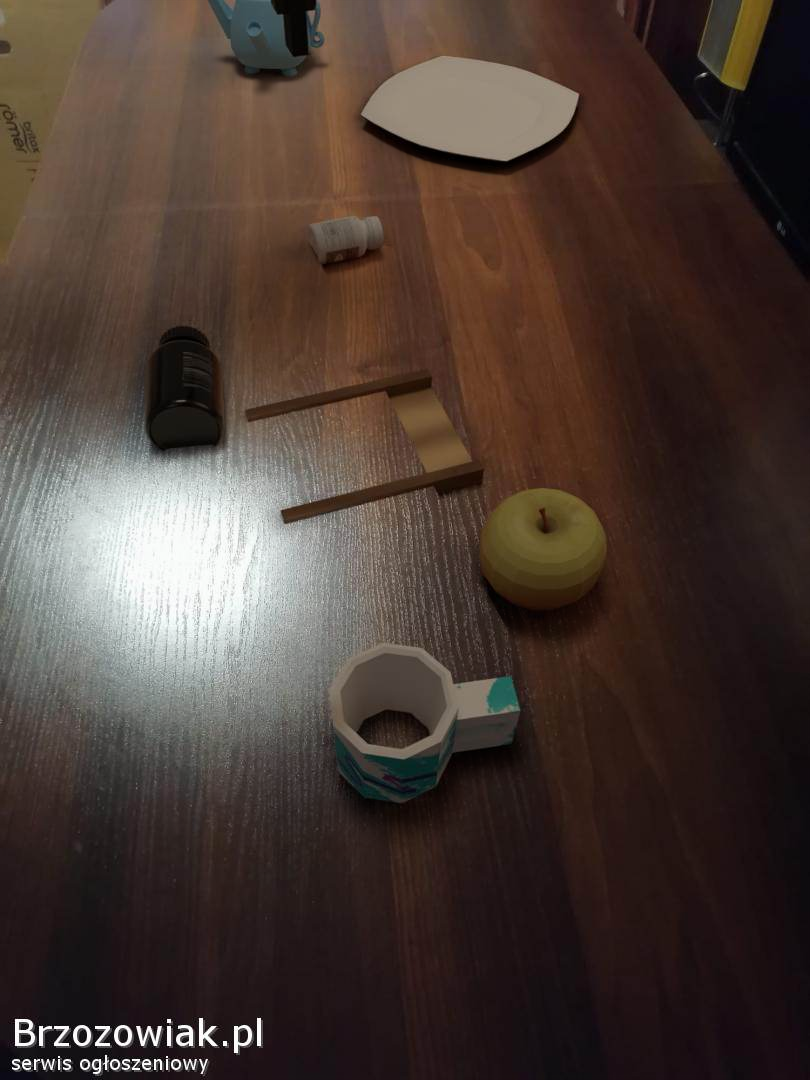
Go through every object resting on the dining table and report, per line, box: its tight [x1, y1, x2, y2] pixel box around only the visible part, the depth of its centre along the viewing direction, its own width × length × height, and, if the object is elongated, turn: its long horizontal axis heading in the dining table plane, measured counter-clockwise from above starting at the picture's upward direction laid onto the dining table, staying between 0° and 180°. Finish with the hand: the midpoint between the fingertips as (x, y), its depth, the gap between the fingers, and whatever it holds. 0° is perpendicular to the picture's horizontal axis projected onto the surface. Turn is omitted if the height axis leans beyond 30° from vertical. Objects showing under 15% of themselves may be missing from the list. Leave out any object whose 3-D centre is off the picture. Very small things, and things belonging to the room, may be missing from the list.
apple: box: [478, 487, 608, 611], centre depth 67 cm, size 10×10×8 cm
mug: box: [328, 642, 521, 804], centre depth 57 cm, size 8×12×8 cm
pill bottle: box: [307, 215, 385, 265], centre depth 96 cm, size 4×4×8 cm
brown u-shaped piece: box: [244, 368, 485, 524], centre depth 78 cm, size 14×18×2 cm
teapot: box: [207, 0, 325, 77], centre depth 124 cm, size 15×14×11 cm
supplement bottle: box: [144, 325, 225, 452], centre depth 79 cm, size 7×7×12 cm
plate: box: [360, 55, 580, 163], centre depth 118 cm, size 27×27×2 cm
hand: (297, 49), depth 79 cm, fingers closed
